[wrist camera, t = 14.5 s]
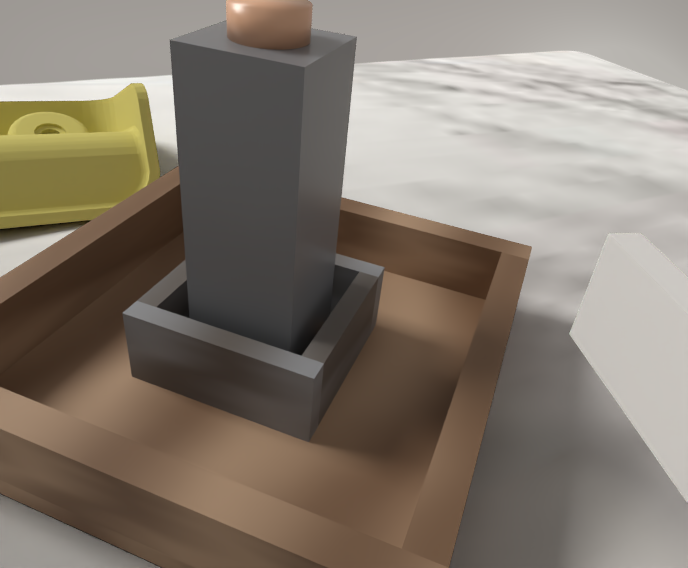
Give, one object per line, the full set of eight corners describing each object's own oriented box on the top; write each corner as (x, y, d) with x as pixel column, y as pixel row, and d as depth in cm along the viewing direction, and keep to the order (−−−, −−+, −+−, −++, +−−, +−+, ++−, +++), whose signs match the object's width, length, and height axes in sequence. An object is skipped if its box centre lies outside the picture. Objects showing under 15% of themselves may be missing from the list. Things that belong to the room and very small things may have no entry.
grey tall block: (193, 365, 23) (167, 0, 16) (242, 309, 27) (240, -19, 19) (287, 398, 23) (306, 25, 15) (327, 335, 26) (360, 1, 18)
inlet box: (-105, 445, 20) (-148, 360, 18) (194, 216, 34) (190, 153, 32) (413, 682, 16) (439, 607, 14) (513, 307, 30) (533, 241, 28)
